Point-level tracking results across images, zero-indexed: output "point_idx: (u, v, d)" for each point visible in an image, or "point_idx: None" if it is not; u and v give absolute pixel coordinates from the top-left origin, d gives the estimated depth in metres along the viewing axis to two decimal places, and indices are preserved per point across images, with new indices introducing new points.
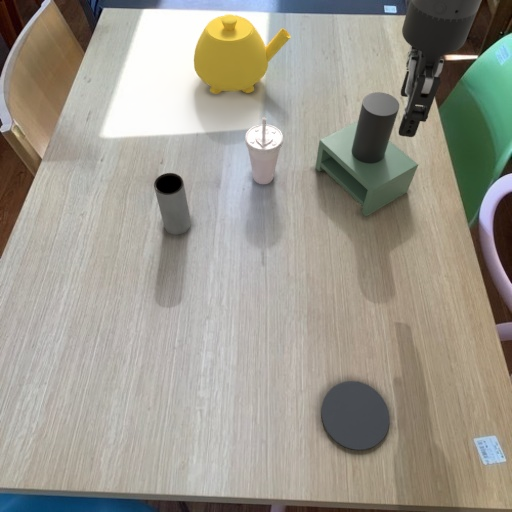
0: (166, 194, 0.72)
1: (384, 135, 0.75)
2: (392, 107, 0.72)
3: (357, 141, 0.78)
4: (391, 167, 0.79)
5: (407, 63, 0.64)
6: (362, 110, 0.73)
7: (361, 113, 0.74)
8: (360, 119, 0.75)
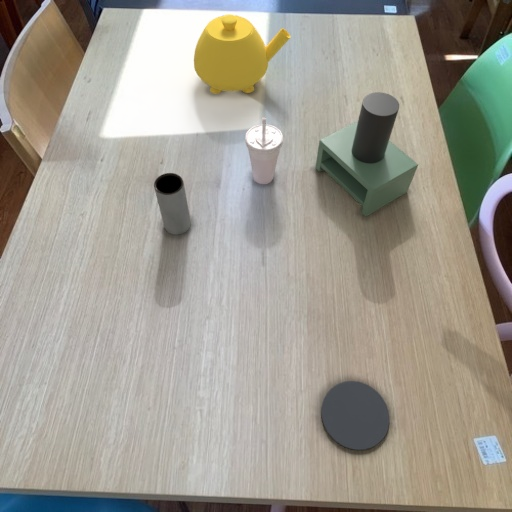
0: (166, 194, 0.72)
1: (384, 135, 0.75)
2: (392, 107, 0.72)
3: (357, 141, 0.78)
4: (391, 167, 0.79)
5: None
6: (362, 110, 0.73)
7: (361, 113, 0.74)
8: (360, 119, 0.75)
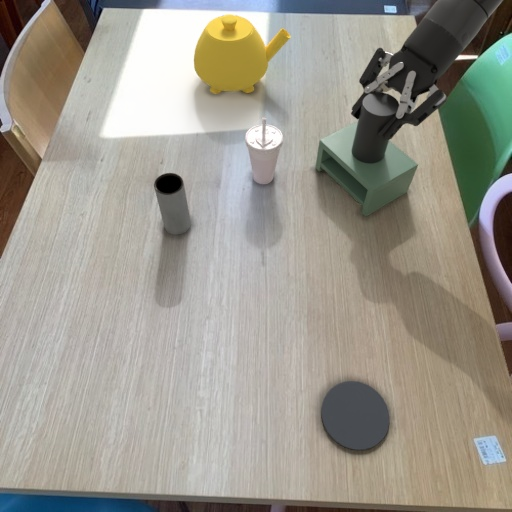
0: (166, 194, 0.72)
1: None
2: (392, 107, 0.72)
3: (357, 141, 0.78)
4: (391, 167, 0.79)
5: (381, 83, 0.73)
6: (362, 110, 0.73)
7: (361, 113, 0.74)
8: (360, 119, 0.75)
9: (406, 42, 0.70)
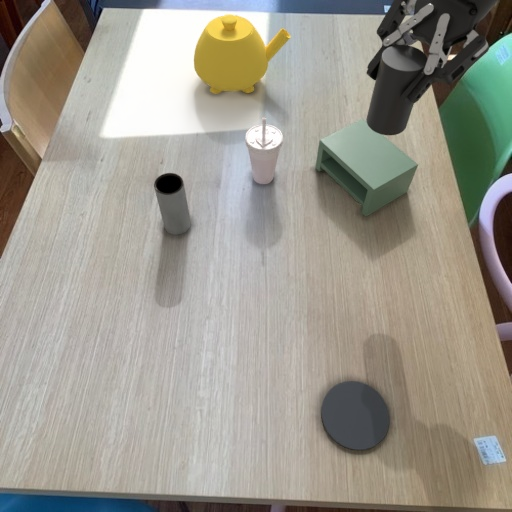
0: (166, 194, 0.72)
1: None
2: (419, 61, 0.58)
3: (374, 107, 0.63)
4: (391, 167, 0.79)
5: (405, 32, 0.59)
6: (381, 66, 0.59)
7: (380, 70, 0.60)
8: (378, 78, 0.60)
9: None
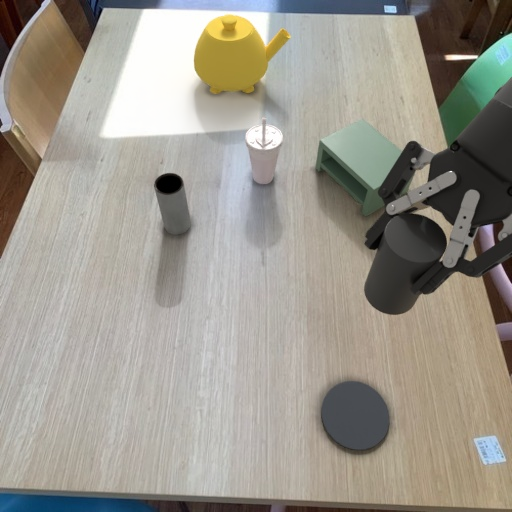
0: (166, 194, 0.72)
1: None
2: (435, 244, 0.43)
3: (374, 284, 0.48)
4: (391, 167, 0.79)
5: (416, 202, 0.43)
6: (384, 246, 0.44)
7: (382, 250, 0.44)
8: (380, 257, 0.45)
9: (463, 141, 0.40)
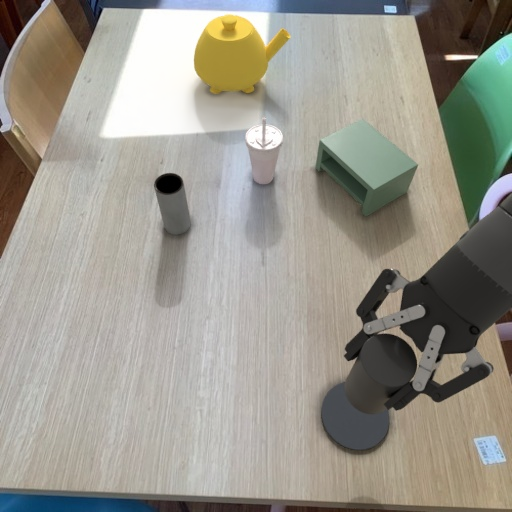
0: (166, 194, 0.72)
1: None
2: (406, 367, 0.47)
3: (353, 390, 0.52)
4: (391, 167, 0.79)
5: (390, 327, 0.48)
6: (360, 366, 0.48)
7: (359, 367, 0.49)
8: (357, 373, 0.49)
9: (430, 283, 0.44)
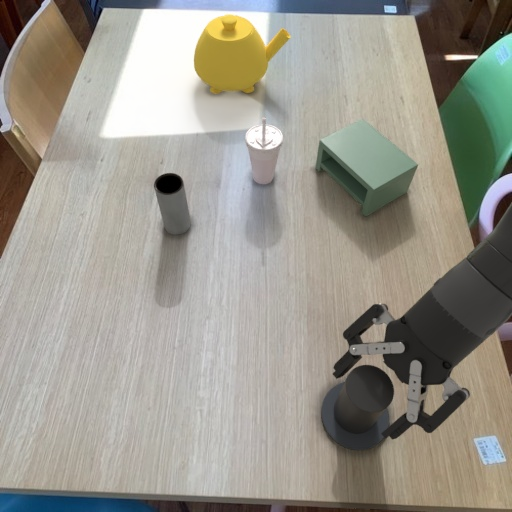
0: (166, 194, 0.72)
1: (374, 419, 0.57)
2: (384, 395, 0.55)
3: (340, 413, 0.60)
4: (391, 167, 0.79)
5: None
6: (345, 394, 0.56)
7: (344, 394, 0.56)
8: (343, 399, 0.57)
9: (408, 323, 0.51)
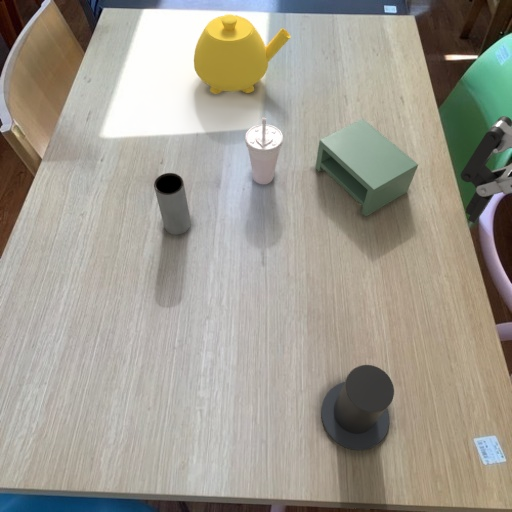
0: (166, 194, 0.72)
1: (374, 419, 0.57)
2: (384, 395, 0.55)
3: (340, 413, 0.60)
4: (391, 167, 0.79)
5: (508, 192, 0.41)
6: (345, 394, 0.56)
7: (344, 394, 0.56)
8: (343, 399, 0.57)
9: None
